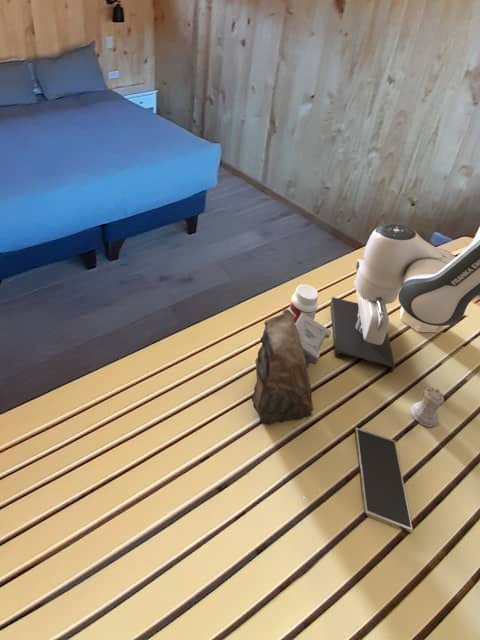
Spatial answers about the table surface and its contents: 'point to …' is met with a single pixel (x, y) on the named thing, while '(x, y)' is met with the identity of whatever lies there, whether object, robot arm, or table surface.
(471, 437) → the table surface
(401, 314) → the jar
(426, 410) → the rook chess piece
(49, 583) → the table surface
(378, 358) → the lid
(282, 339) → the brown rock
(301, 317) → the incense holder
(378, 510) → the phone
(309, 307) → the pill bottle
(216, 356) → the table surface
